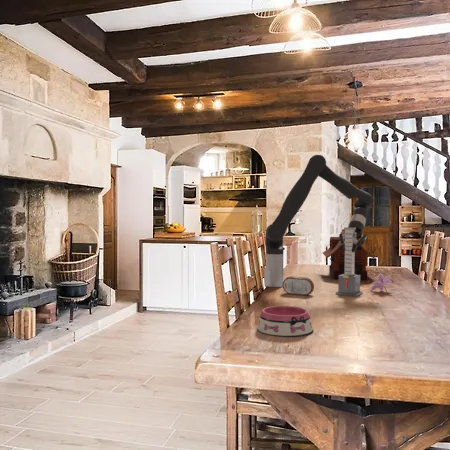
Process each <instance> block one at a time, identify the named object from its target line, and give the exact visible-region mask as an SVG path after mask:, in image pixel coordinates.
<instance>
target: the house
mask: <svg viewBox="0 0 450 450" xmlns="http://www.w3.org/2000/svg"><path fill="white" fill-rule="evenodd" d="M340 234H342V235H343V234H345V230H344V228H342V229H341V231H340ZM359 240H360V239H359ZM359 240H358V241H359ZM343 241H345V237H344V239H343ZM342 247H343V245H341V242H340V236H339V235H338V236H330V237H329V248H327V249H326V250H325V251H323V252H322V255H324V257H325V258H326V259H328V258H329V260H330V265H329V269H328V270H329V272H328V273H330V274H329V275H330V276H331V278H332V279H333V280H335V281H336V280H337V281H338V280H339V275H342V274H345V252H344V251H343V249H342ZM368 256H369V257H370V258H372V259H374V260H375V259H376V256H374V255H372V254H371V253H370V252H368V251H367V250H366V249H365V248H364V246H363V245H362V246H358V247H357V248H356V251H355V261H354V274H355V275H360V281H368V270H367V265H368V263H367V259H368Z"/></svg>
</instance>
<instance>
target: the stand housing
mask: <svg viewBox="0 0 450 450" xmlns="http://www.w3.org/2000/svg"><path fill="white" fill-rule="evenodd" d="M337 281H338V287H337V290H338V291H335V295H338V296H339V295H340V296H348V297H358V296H360V295H363V294H364V292H363V291H362V290H361V280H360V275H355V276H347V275H344V274H342V275H339V280H337Z"/></svg>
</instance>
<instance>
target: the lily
mask: <svg viewBox="0 0 450 450" xmlns="http://www.w3.org/2000/svg"><path fill="white" fill-rule="evenodd" d="M391 276H392V274H388V275H386V276H385V275H383V274H382V273H381V272H380V273H379V274H378V275H377V277H376V280H375V281H373V282H371V285H372V287H371V289H370V290H369V291H370V292H373V291H374V290H376V289H378V290H380V291H381V292H383V290H384V289H385V292H386V293H388V290H387V288H386V285H387V284H390V283H392V282H393V281H392V280H391V279H390V278H391Z"/></svg>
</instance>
